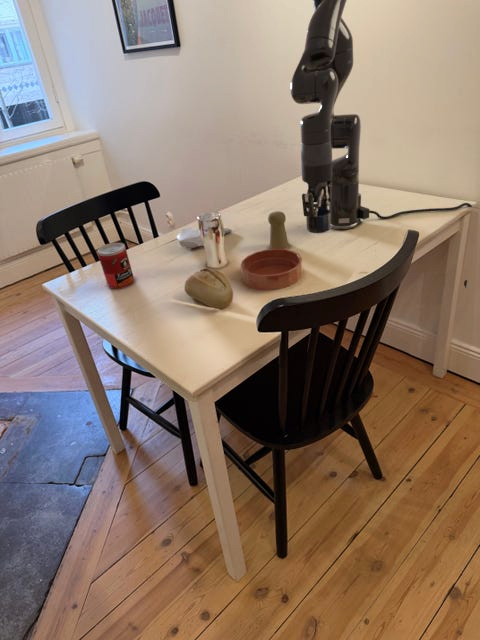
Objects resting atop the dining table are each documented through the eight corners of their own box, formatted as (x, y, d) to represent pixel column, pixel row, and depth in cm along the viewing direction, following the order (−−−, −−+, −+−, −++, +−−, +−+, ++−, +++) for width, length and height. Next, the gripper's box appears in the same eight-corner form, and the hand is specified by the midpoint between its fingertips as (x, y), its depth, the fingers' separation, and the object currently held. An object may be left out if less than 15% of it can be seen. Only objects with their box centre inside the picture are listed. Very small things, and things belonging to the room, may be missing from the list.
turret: (236, 239, 158) (235, 225, 155) (191, 252, 145) (190, 237, 143) (215, 233, 164) (215, 220, 162) (170, 246, 151) (169, 232, 149)
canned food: (121, 291, 131) (111, 255, 125) (102, 286, 135) (90, 251, 129) (140, 278, 136) (130, 244, 130) (120, 274, 140) (110, 240, 134)
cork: (287, 251, 140) (285, 216, 134) (268, 251, 141) (264, 217, 135) (290, 242, 144) (287, 208, 139) (270, 243, 146) (267, 209, 140)
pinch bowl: (312, 223, 128) (312, 207, 125) (334, 225, 124) (333, 209, 122) (303, 232, 123) (302, 215, 121) (325, 234, 120) (324, 217, 118)
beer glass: (232, 259, 139) (225, 211, 131) (223, 270, 134) (216, 220, 126) (210, 258, 142) (202, 211, 134) (201, 269, 136) (193, 220, 128)
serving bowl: (280, 258, 136) (279, 243, 134) (314, 277, 123) (314, 262, 121) (232, 275, 130) (230, 261, 128) (263, 298, 118) (261, 282, 115)
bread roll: (204, 285, 128) (199, 258, 123) (244, 299, 118) (240, 271, 114) (178, 300, 122) (171, 273, 118) (217, 317, 113) (212, 288, 108)
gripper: (319, 169, 108) (321, 236, 116) (341, 152, 118) (341, 216, 126) (290, 168, 111) (294, 234, 120) (314, 152, 121) (316, 214, 130)
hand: (318, 224), depth 123 cm, fingers closed on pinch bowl, 6 cm apart
